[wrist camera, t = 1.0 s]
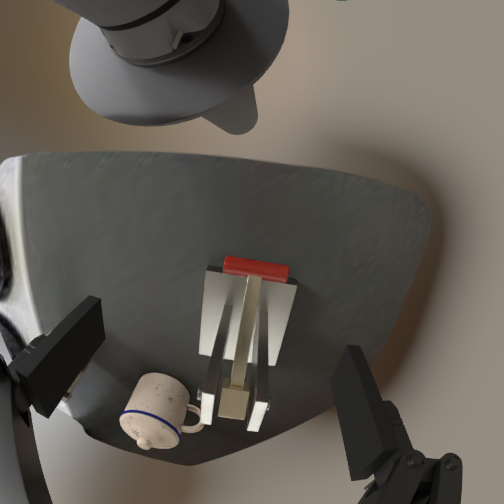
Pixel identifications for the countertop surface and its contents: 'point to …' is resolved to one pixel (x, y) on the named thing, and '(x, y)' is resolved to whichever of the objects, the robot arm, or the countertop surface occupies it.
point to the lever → (245, 329)
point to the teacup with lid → (158, 412)
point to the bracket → (226, 332)
